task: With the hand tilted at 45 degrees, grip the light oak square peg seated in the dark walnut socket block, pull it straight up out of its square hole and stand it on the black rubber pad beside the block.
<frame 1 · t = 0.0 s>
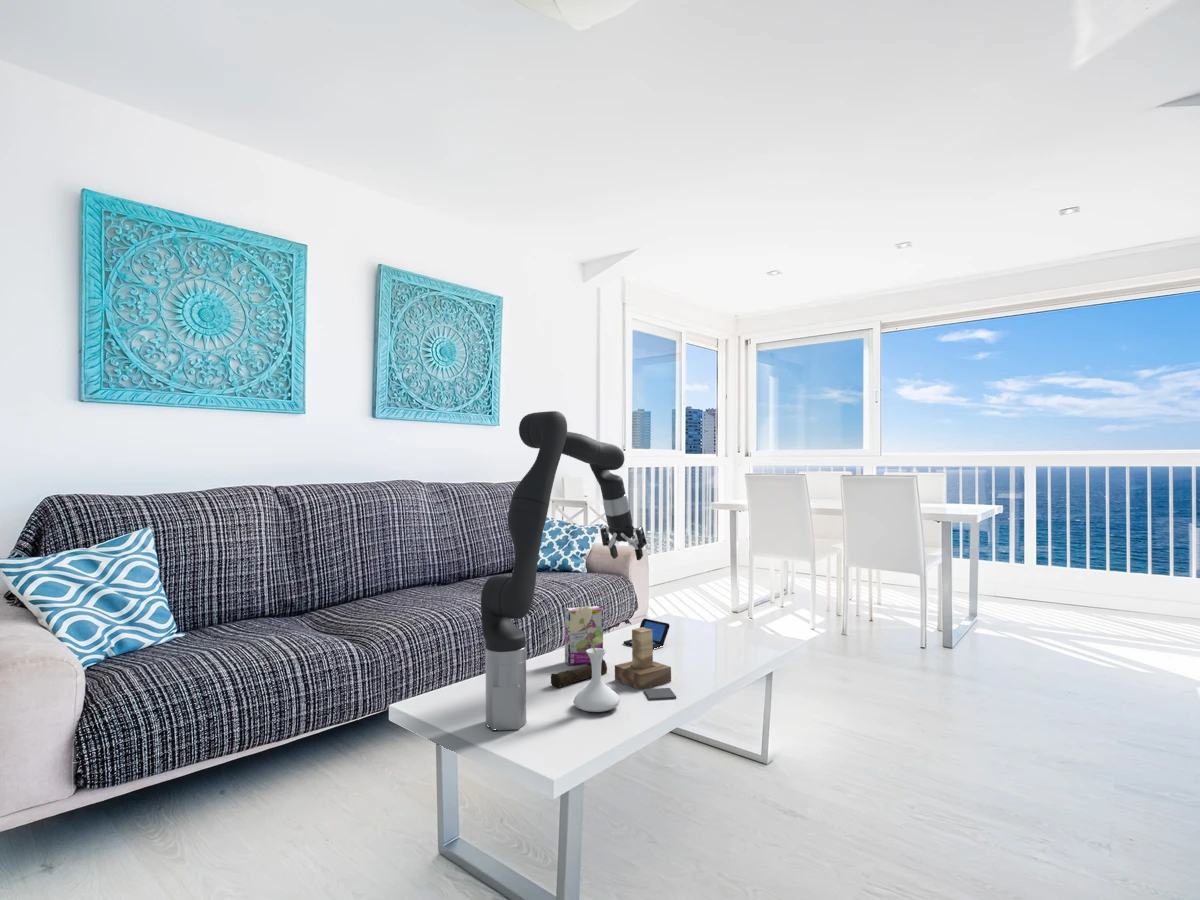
hand: (627, 558, 195), 31 cm above the table, tool tilted 20°, fingers open, 8 cm apart
brown wooden log: (579, 681, 176), on the table
oak peg: (642, 655, 175), in the socket block
candy bar box: (584, 662, 194), on the table
flower in vase: (593, 709, 154), on the table
rubber pad: (659, 694, 163), on the table
handheld game console: (646, 646, 214), on the table
socket block: (642, 680, 175), on the table
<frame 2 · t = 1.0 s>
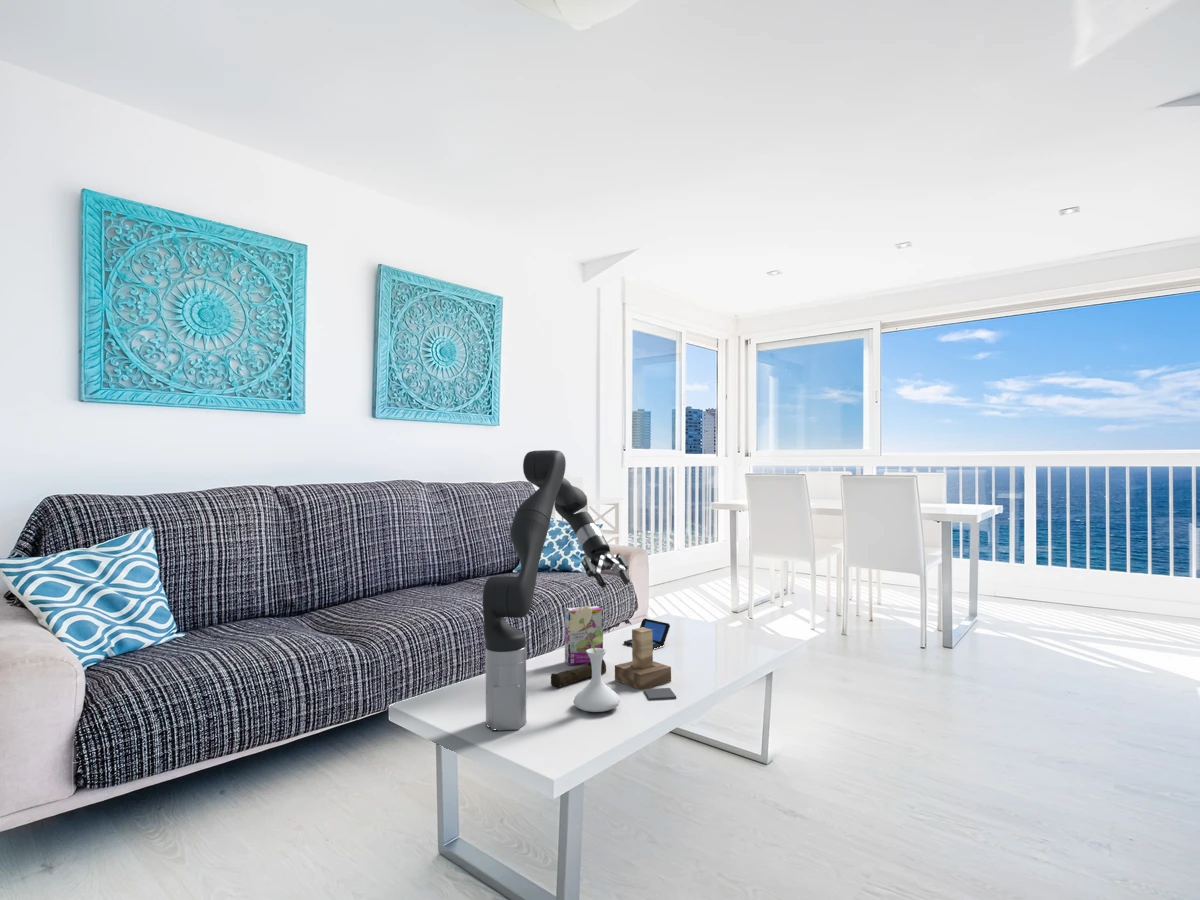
hand: (616, 584, 185), 25 cm above the table, tool tilted 45°, fingers open, 8 cm apart
nothing on the table moved.
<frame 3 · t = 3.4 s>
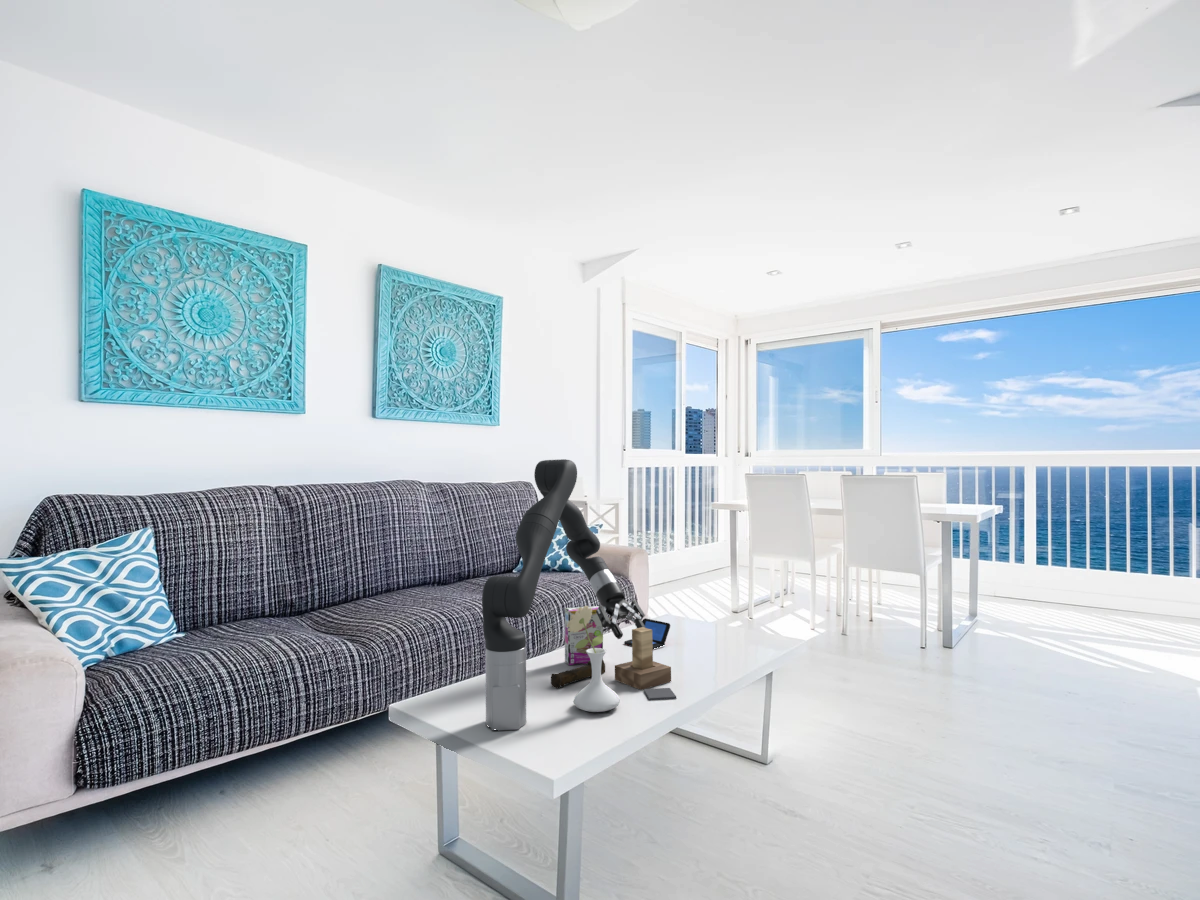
hand: (632, 635, 179), 12 cm above the table, tool tilted 45°, fingers open, 8 cm apart
nothing on the table moved.
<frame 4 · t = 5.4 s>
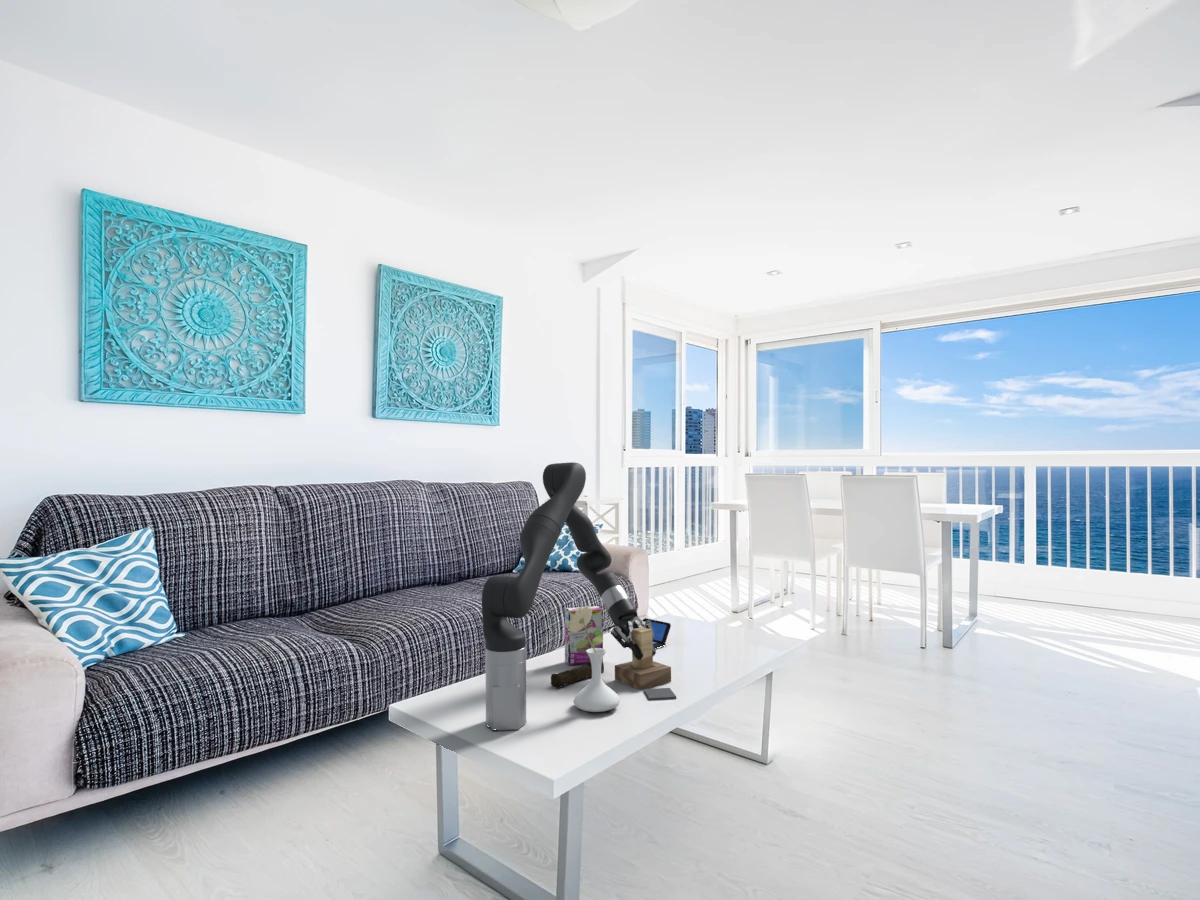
hand: (647, 656, 174), 7 cm above the table, tool tilted 45°, fingers closed on oak peg, 4 cm apart
oak peg: (642, 655, 175), in the socket block, touching gripper
everything else where it was.
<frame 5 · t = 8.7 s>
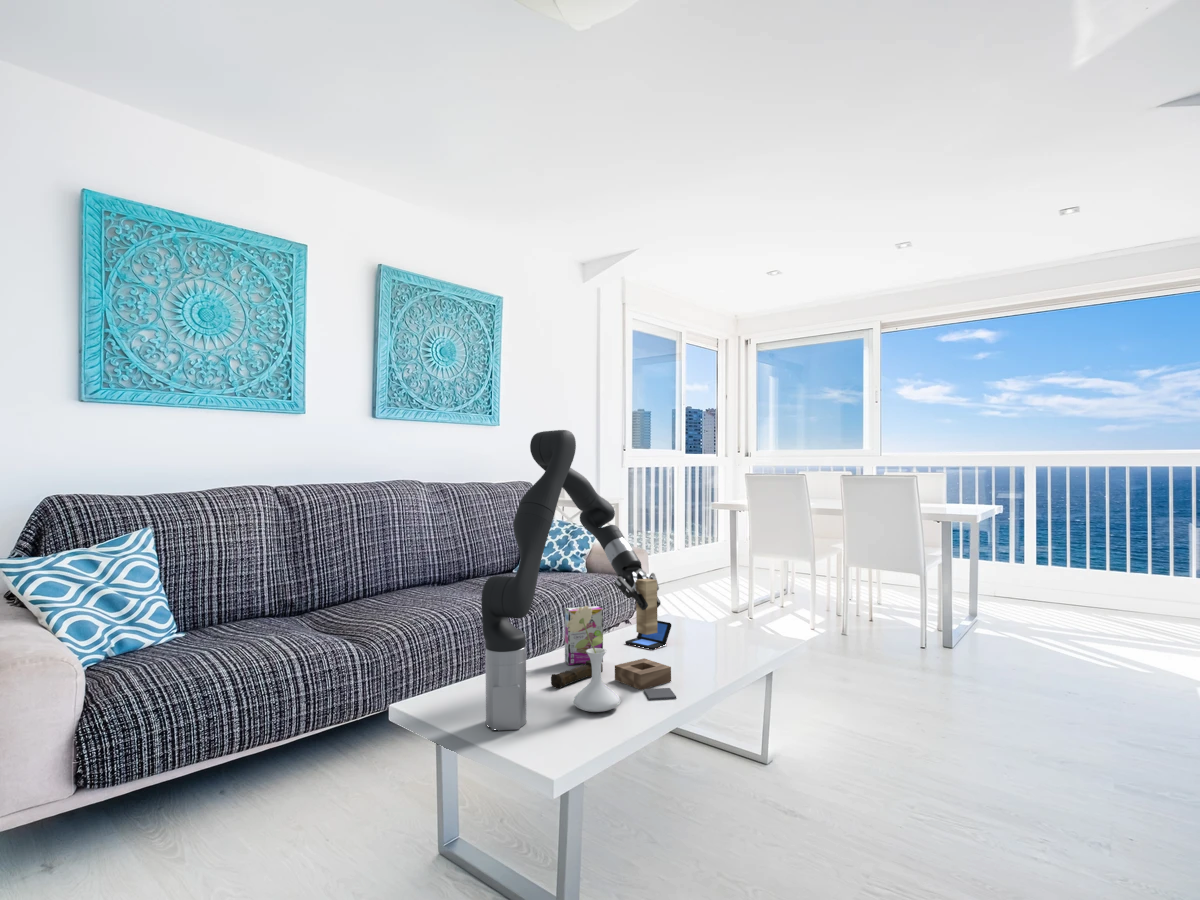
hand: (651, 606, 170), 21 cm above the table, tool tilted 45°, fingers closed on oak peg, 4 cm apart
oak peg: (646, 606, 171), point 21 cm above the table, touching gripper
everything else where it was.
when the fingers open (9 cm above the table, at t = 12.0 s): oak peg drops 1 cm, resting on rubber pad.
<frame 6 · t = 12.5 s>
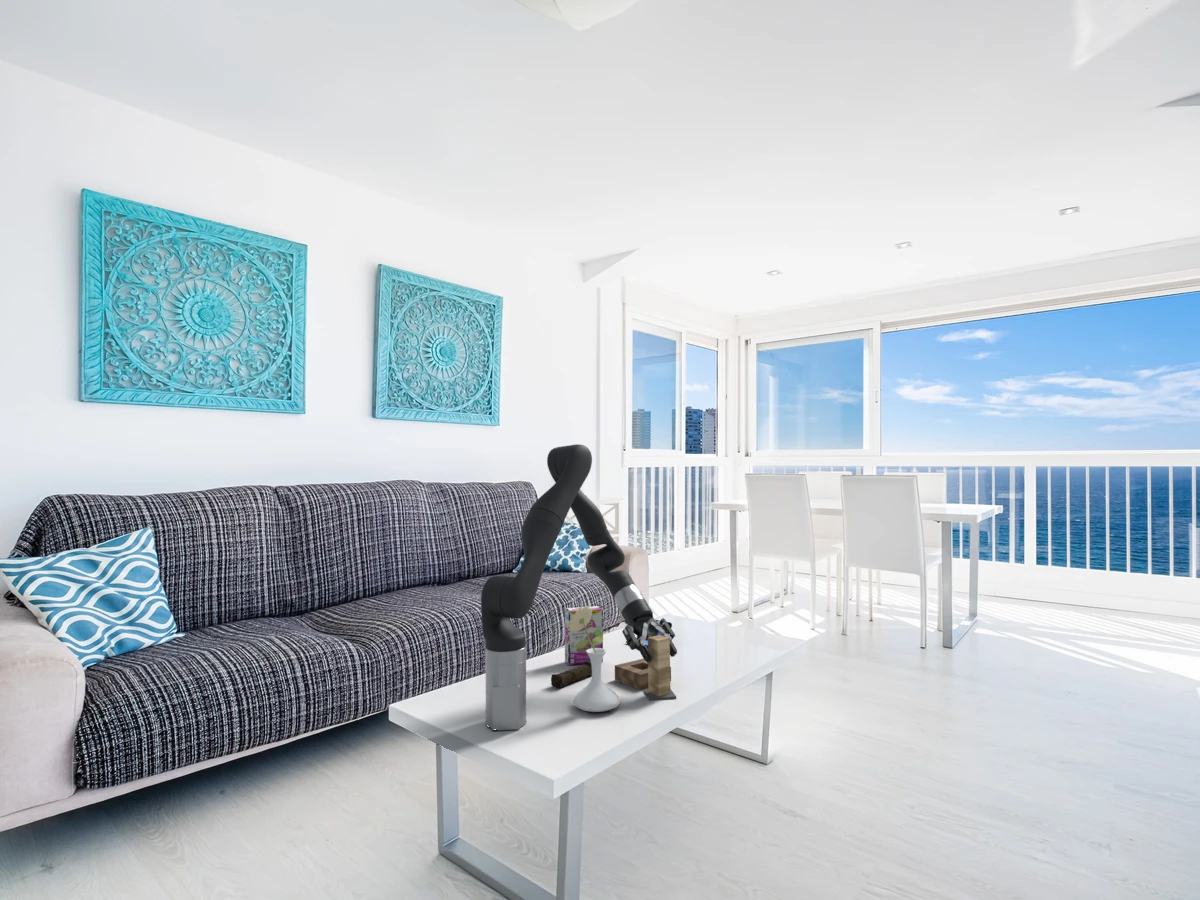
hand: (662, 657, 163), 10 cm above the table, tool tilted 45°, fingers open, 8 cm apart
oak peg: (659, 665, 164), on the rubber pad
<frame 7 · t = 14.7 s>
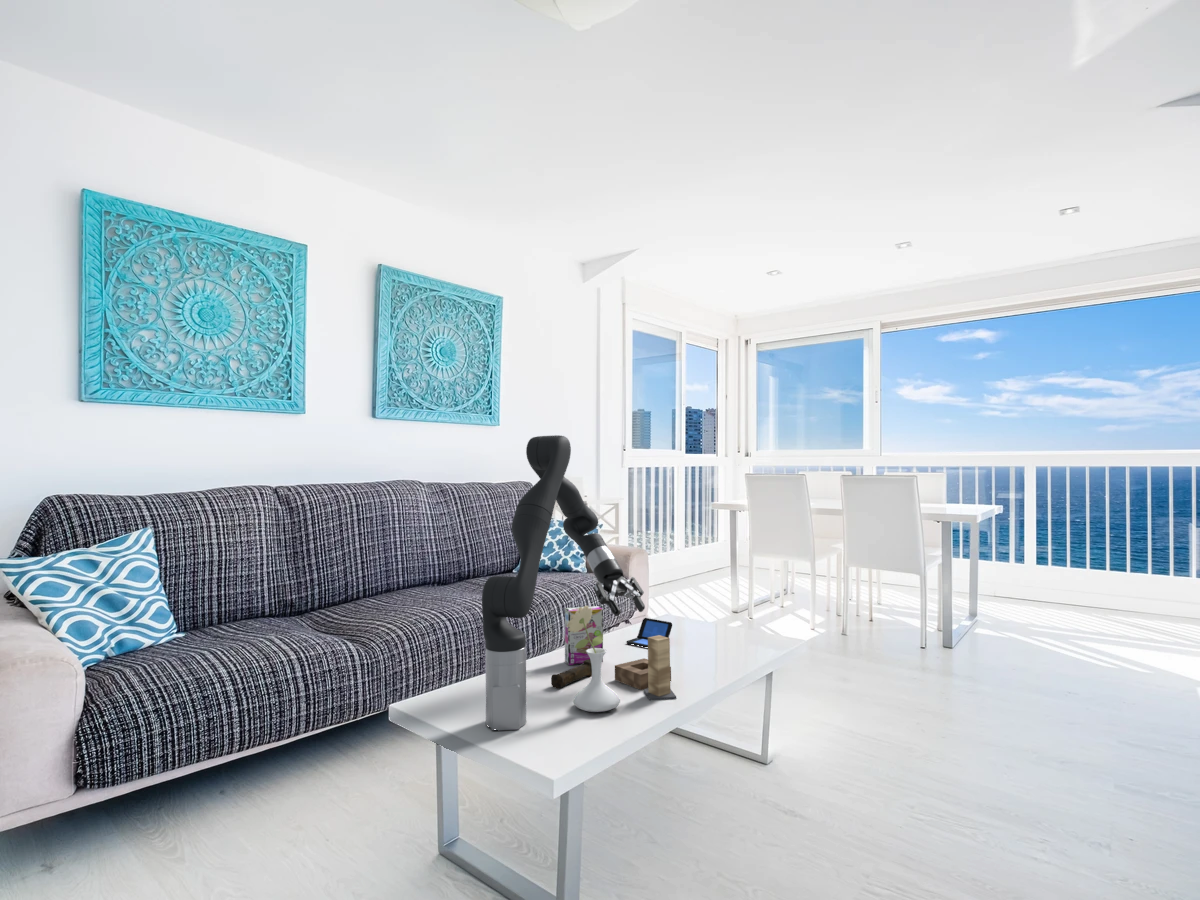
hand: (630, 612, 173), 19 cm above the table, tool tilted 45°, fingers open, 8 cm apart
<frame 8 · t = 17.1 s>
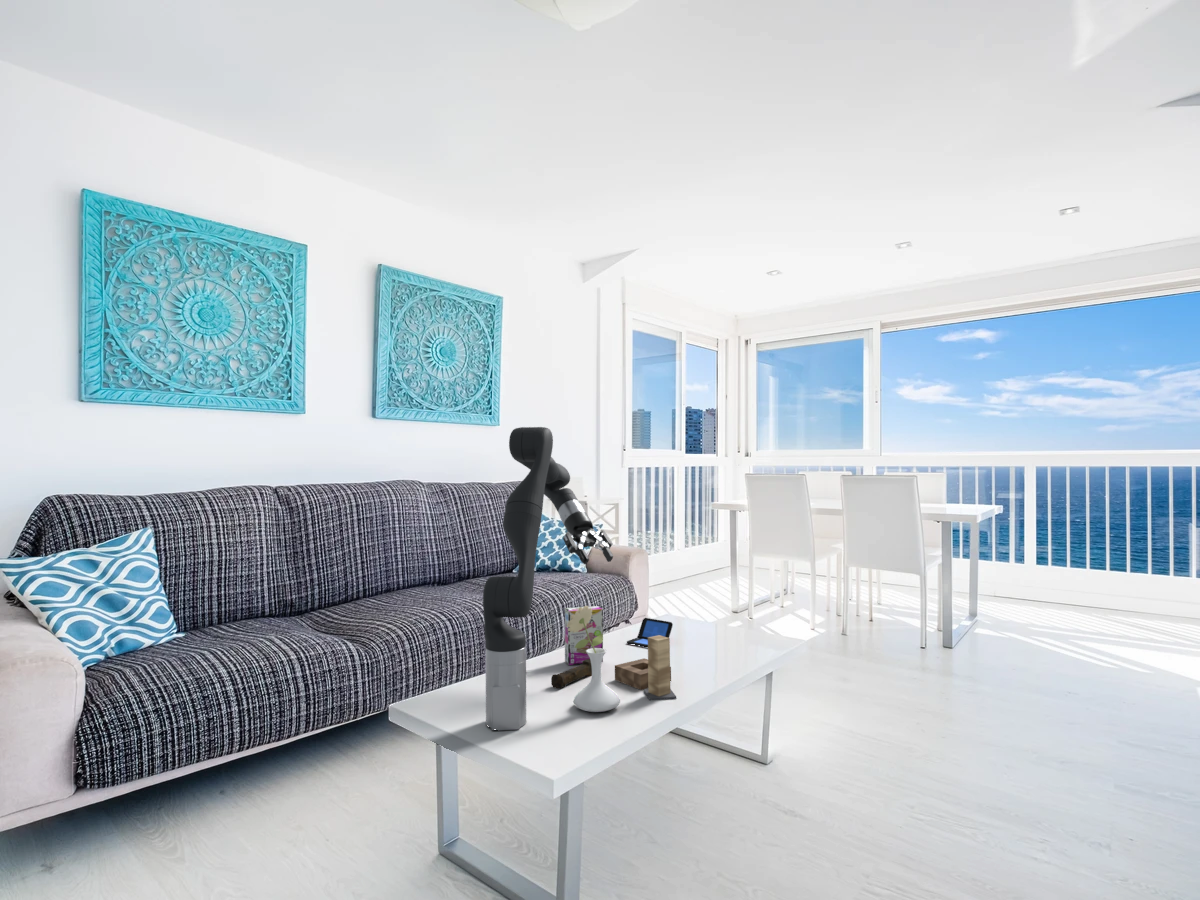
hand: (599, 561, 179), 33 cm above the table, tool tilted 45°, fingers open, 8 cm apart
at the end: oak peg 0.1 cm off-centre on the rubber pad, point 7.5 cm above the rubber pad's base; oak peg tilted 0°; the gripper is holding nothing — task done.
